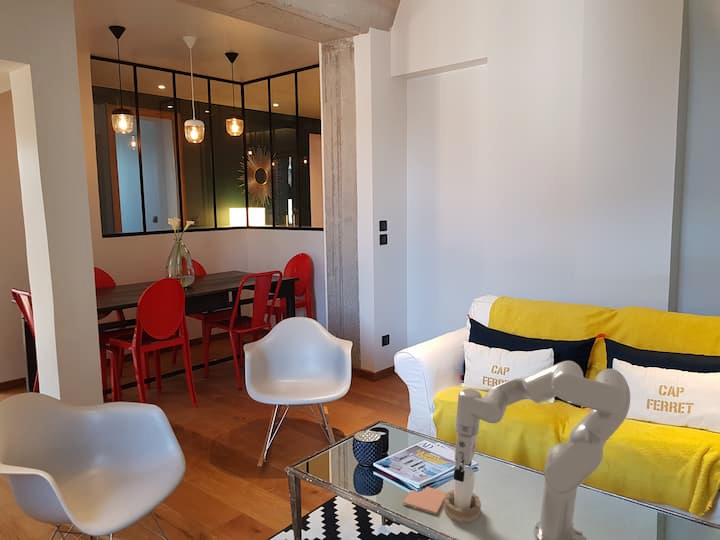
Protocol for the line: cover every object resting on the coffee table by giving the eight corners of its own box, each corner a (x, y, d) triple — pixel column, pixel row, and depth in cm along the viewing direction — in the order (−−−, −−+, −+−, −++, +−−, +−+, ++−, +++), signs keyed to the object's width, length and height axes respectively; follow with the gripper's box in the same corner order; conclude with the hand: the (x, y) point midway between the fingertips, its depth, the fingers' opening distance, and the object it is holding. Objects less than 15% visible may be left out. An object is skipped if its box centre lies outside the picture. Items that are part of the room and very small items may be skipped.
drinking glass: (471, 518, 186) (474, 478, 183) (451, 515, 187) (453, 476, 184) (471, 505, 193) (474, 467, 189) (452, 502, 194) (454, 464, 190)
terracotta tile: (446, 494, 198) (447, 492, 198) (436, 514, 188) (436, 512, 187) (415, 485, 203) (415, 483, 203) (403, 504, 193) (403, 502, 192)
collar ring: (483, 505, 193) (483, 495, 192) (474, 526, 182) (475, 515, 181) (449, 495, 198) (450, 485, 197) (439, 515, 187) (440, 505, 186)
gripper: (471, 442, 173) (466, 490, 178) (484, 417, 189) (479, 462, 193) (448, 435, 176) (444, 483, 181) (462, 412, 192) (458, 456, 196)
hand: (462, 472), depth 187 cm, fingers open, 9 cm apart
